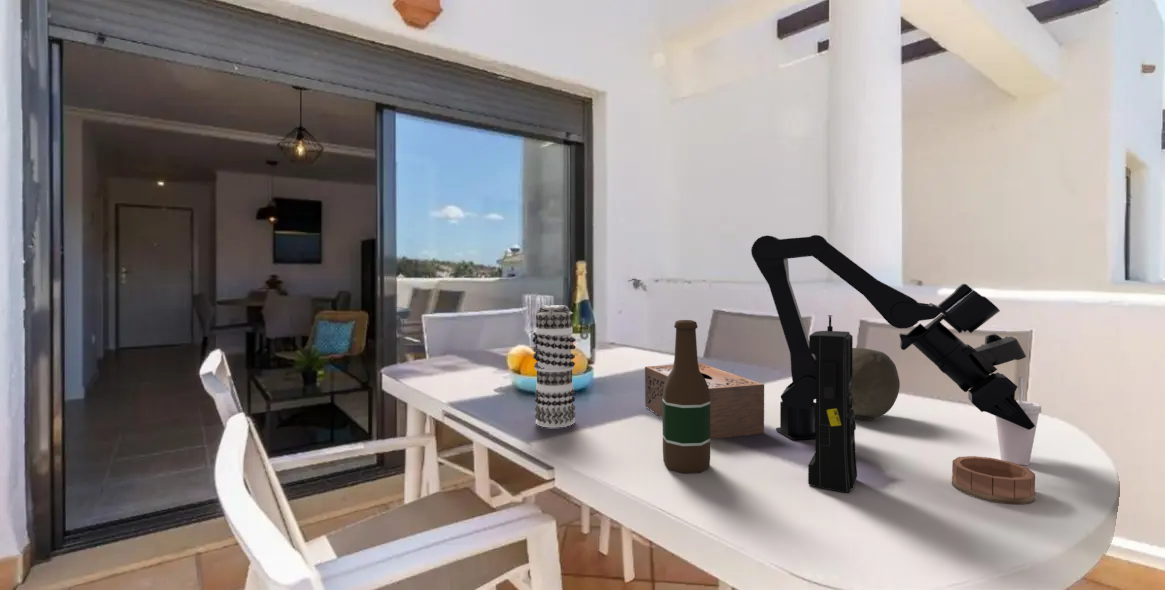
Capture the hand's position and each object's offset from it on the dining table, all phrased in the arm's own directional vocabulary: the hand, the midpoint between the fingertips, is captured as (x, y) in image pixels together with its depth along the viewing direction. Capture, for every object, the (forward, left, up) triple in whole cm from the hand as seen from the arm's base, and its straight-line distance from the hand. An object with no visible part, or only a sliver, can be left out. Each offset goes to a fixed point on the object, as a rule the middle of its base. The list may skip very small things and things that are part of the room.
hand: (1026, 422), depth 88 cm
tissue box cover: (-43, +34, -7) cm, 56 cm away
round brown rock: (-8, +29, -7) cm, 31 cm away
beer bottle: (-55, +8, -7) cm, 56 cm away
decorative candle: (-74, +37, -7) cm, 83 cm away
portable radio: (-36, -3, -7) cm, 37 cm away
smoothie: (-1, +1, -7) cm, 7 cm away
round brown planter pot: (-15, -9, -7) cm, 19 cm away
